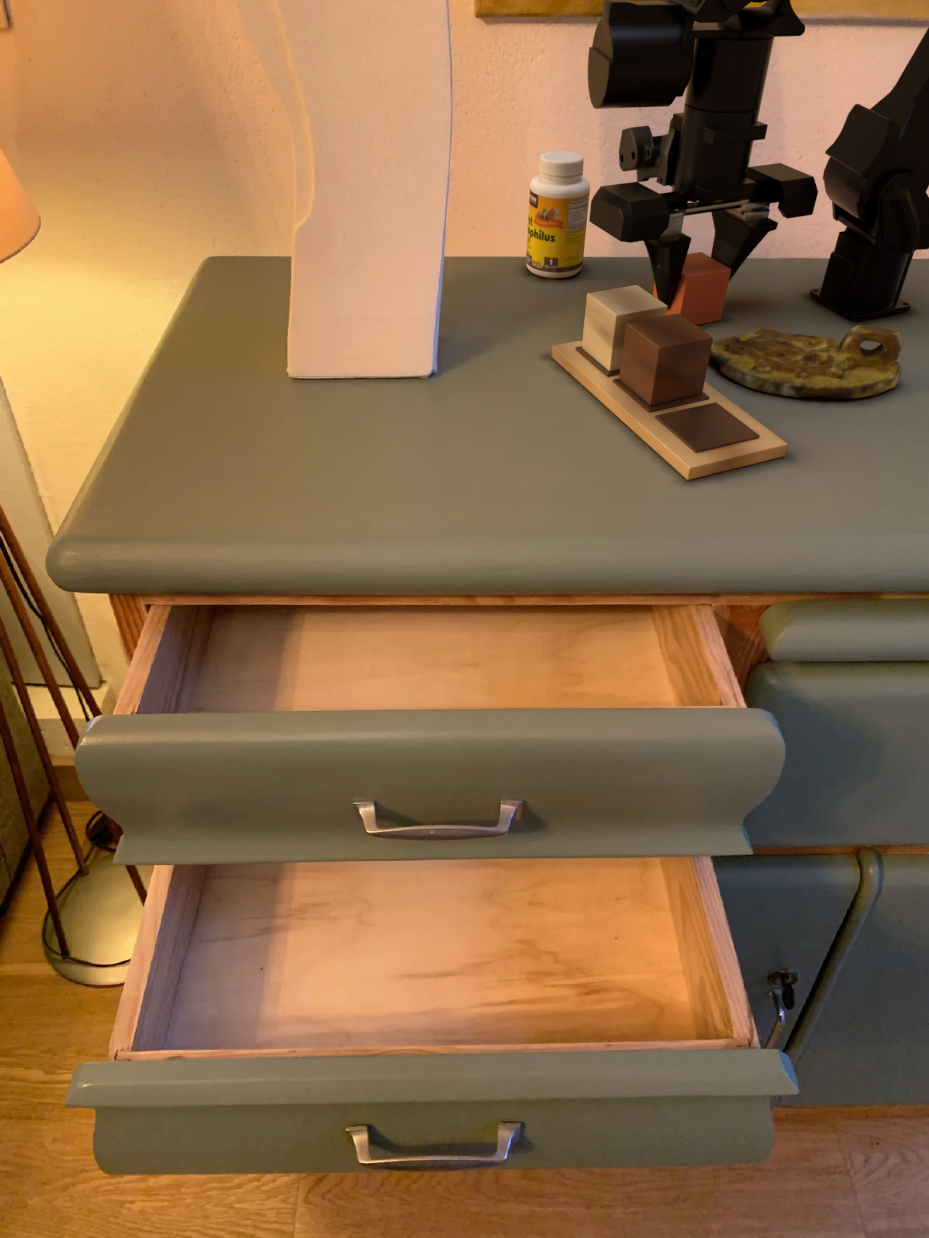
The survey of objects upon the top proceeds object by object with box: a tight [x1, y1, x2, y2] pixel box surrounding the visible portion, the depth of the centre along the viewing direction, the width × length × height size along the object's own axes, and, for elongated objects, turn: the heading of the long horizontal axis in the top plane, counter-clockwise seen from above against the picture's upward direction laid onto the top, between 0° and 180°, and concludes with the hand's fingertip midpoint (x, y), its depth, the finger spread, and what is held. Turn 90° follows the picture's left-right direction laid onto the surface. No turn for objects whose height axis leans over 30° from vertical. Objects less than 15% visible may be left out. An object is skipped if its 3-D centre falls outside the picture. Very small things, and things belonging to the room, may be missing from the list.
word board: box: [551, 284, 789, 481], centre depth 66 cm, size 8×20×6 cm, turn 23°
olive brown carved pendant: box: [709, 324, 903, 400], centre depth 70 cm, size 9×5×15 cm
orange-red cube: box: [652, 251, 731, 326], centre depth 78 cm, size 4×4×4 cm
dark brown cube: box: [619, 313, 714, 405], centre depth 65 cm, size 4×4×4 cm
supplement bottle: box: [525, 150, 591, 279], centre depth 84 cm, size 6×6×10 cm
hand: (687, 303), depth 79 cm, fingers closed on orange-red cube, 4 cm apart
